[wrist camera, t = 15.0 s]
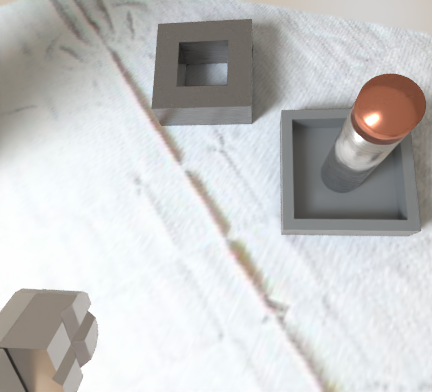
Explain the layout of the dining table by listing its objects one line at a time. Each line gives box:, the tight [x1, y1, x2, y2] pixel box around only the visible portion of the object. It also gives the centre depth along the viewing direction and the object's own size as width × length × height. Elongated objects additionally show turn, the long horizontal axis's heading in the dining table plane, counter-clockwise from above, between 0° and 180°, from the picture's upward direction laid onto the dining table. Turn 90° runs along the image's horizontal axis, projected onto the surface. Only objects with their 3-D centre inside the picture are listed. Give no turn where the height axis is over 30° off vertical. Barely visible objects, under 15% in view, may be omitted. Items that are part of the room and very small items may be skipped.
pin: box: [321, 74, 426, 193], centre depth 31 cm, size 4×4×15 cm
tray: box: [280, 109, 421, 236], centre depth 37 cm, size 12×12×3 cm
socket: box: [152, 19, 253, 126], centre depth 41 cm, size 10×10×4 cm
